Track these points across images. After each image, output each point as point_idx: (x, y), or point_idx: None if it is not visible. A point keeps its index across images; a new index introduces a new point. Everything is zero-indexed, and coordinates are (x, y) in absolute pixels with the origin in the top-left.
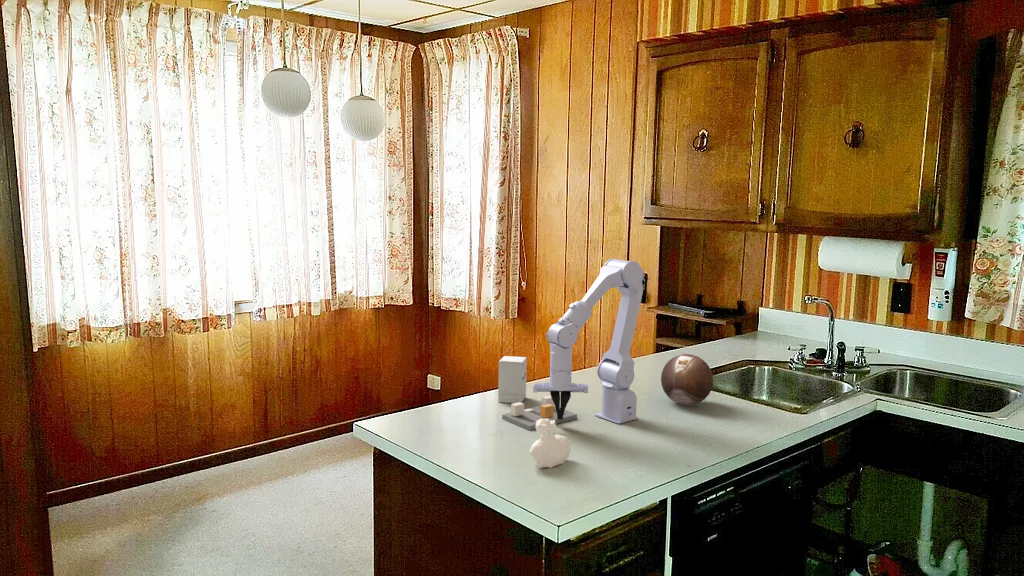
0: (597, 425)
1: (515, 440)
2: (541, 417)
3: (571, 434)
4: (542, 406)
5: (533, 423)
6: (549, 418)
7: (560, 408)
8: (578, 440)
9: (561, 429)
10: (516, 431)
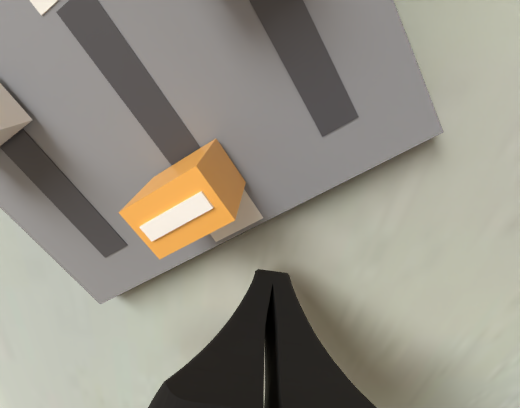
0: (495, 260)
1: (67, 371)
2: None
3: None
4: (136, 231)
5: (118, 273)
6: None
7: (272, 328)
8: None
9: None
10: (52, 290)
